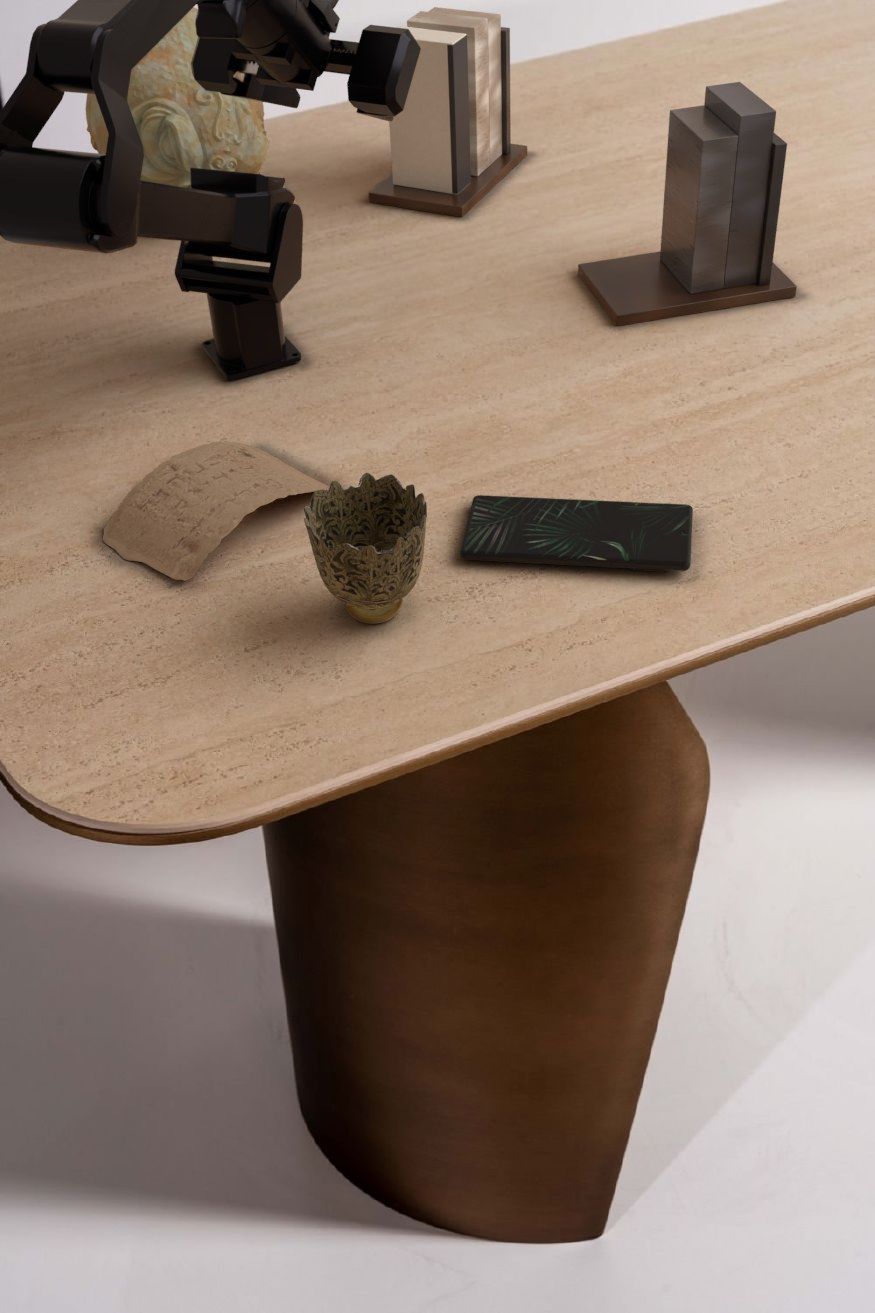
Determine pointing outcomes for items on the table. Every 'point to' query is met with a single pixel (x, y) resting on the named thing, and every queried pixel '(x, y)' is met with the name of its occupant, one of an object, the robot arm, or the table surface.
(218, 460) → the clay tablet
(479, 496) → the smartphone
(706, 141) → the grey book shelf
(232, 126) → the sculpture
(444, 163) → the white book
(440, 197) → the white book shelf
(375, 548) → the cup
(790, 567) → the table surface
